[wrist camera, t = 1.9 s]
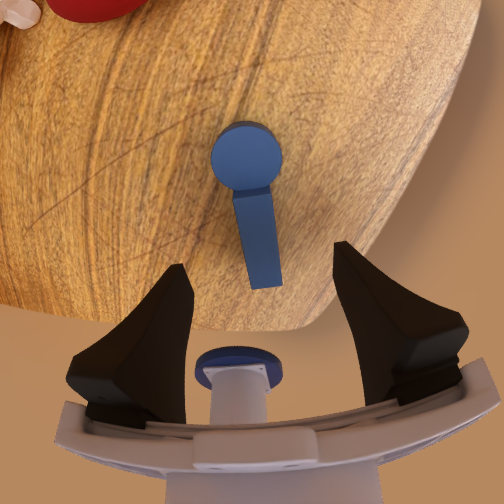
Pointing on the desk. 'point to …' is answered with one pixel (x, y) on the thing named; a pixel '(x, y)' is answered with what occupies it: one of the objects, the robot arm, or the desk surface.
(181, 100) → the desk surface
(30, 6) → the white animal figurine
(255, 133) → the blue long-handled part
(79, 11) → the christmas ornament
